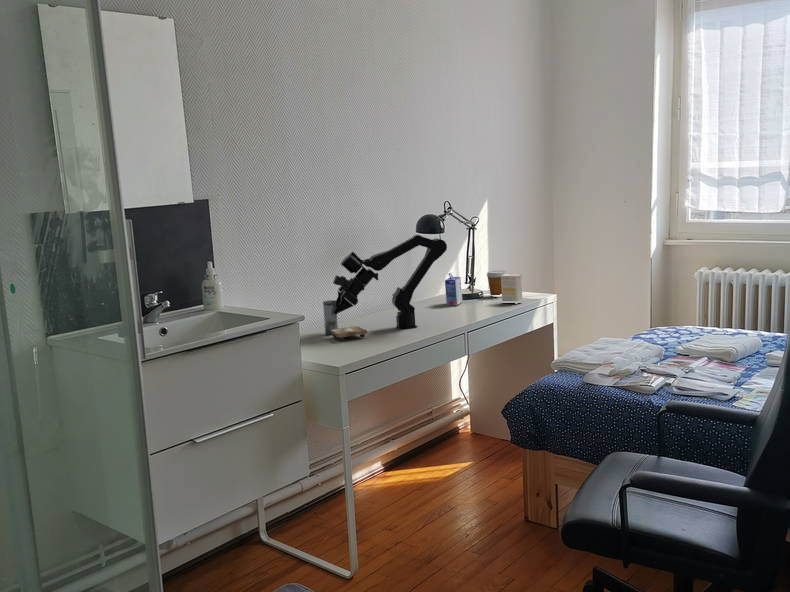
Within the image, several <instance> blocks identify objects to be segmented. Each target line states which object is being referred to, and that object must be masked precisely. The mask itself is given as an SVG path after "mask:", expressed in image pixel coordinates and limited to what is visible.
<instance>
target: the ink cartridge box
mask: <svg viewBox="0 0 790 592" xmlns="http://www.w3.org/2000/svg"><path fill="white" fill-rule="evenodd" d="M448 276H449V277H448V278H447V279H445V280H444V287H445V288H444V289H445V301H446V306H447V305H458V304H459V305H460V303H461V302H462V303H463V291H462V290H463V289H462V278H461V276H453V274H452V272H449V273H448ZM462 303H461V304H462ZM459 305H458V306H459Z"/></svg>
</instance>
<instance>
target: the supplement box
mask: <svg viewBox="0 0 790 592" xmlns="http://www.w3.org/2000/svg"><path fill="white" fill-rule="evenodd" d="M522 282H523V281H522V274H515V273H513V274H511V273H506V274H504V275H501V289H502V297H501V301H519V300H521V299H522V300H523V288H522V287H523V286H522Z"/></svg>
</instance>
